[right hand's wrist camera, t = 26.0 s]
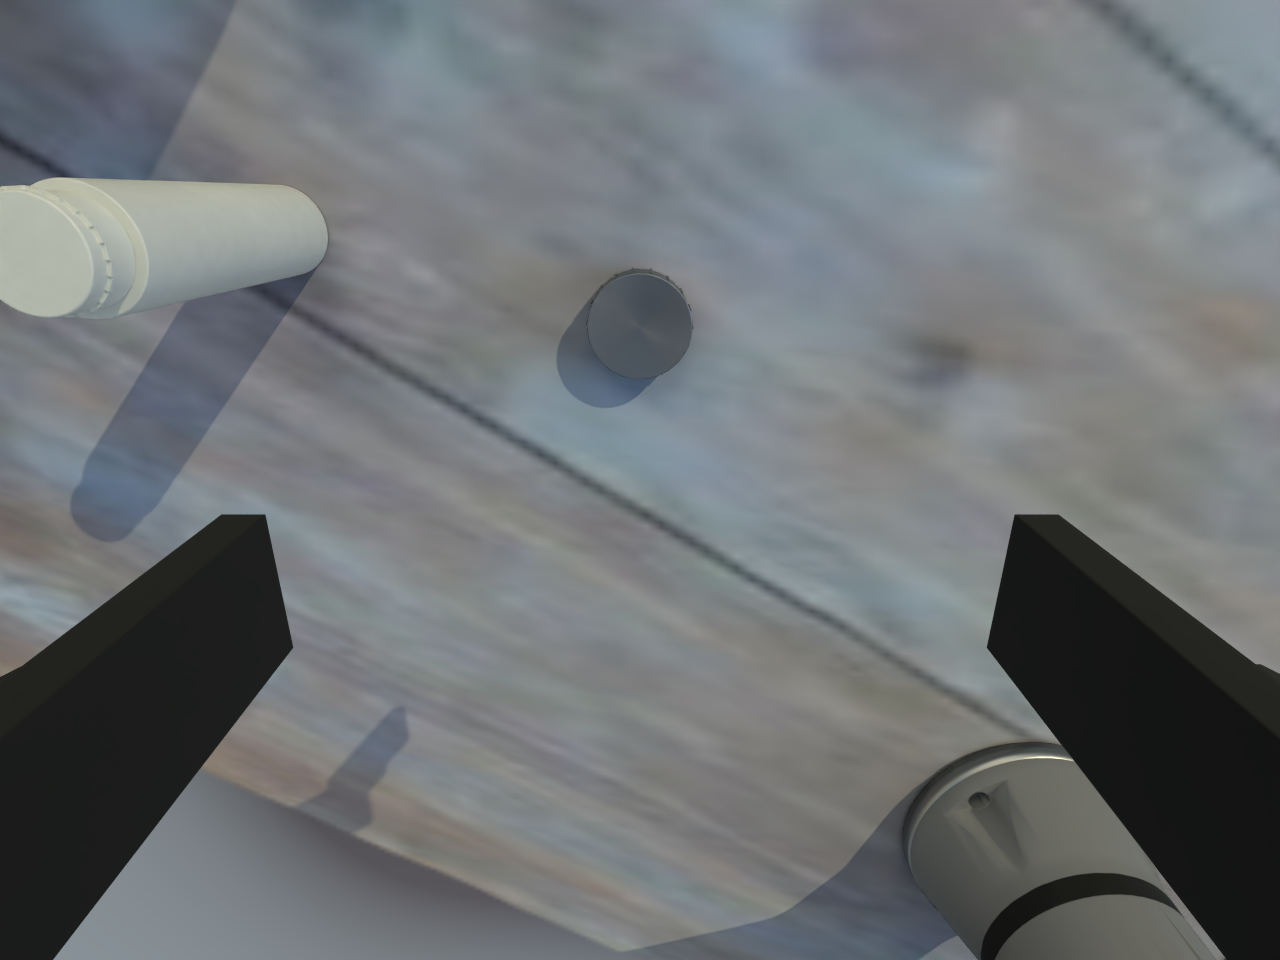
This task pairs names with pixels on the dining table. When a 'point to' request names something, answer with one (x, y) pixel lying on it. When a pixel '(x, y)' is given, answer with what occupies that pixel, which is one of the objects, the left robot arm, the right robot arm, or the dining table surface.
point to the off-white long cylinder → (148, 243)
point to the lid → (639, 324)
